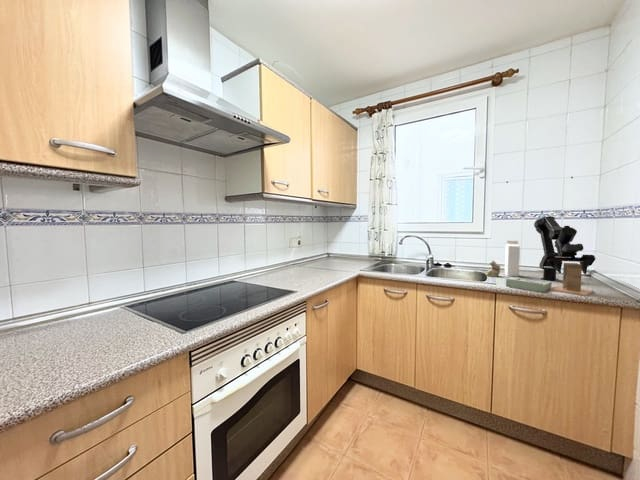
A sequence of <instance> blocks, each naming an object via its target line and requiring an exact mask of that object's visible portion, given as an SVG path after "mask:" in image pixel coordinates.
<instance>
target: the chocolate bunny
mask: <svg viewBox="0 0 640 480" xmlns="http://www.w3.org/2000/svg"><path fill="white" fill-rule="evenodd" d="M489 266H491V268H490V269H488V271H486V274H485V277H490V278H492V277H493V278H495V277H496V278H498V277H499V276H500V275H499V274H500V273H501V265H500V264H498V263H496V261H494V260H492V261H491V262H489Z"/></svg>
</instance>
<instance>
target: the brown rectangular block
mask: <svg viewBox="0 0 640 480" xmlns="http://www.w3.org/2000/svg"><path fill="white" fill-rule="evenodd" d="M562 267H563V268H562V286H563V288H564V289H566V290H573V291H581V288H582V273H583V271H582V265H581V264H580V263H578V262H563V265H562Z"/></svg>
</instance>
